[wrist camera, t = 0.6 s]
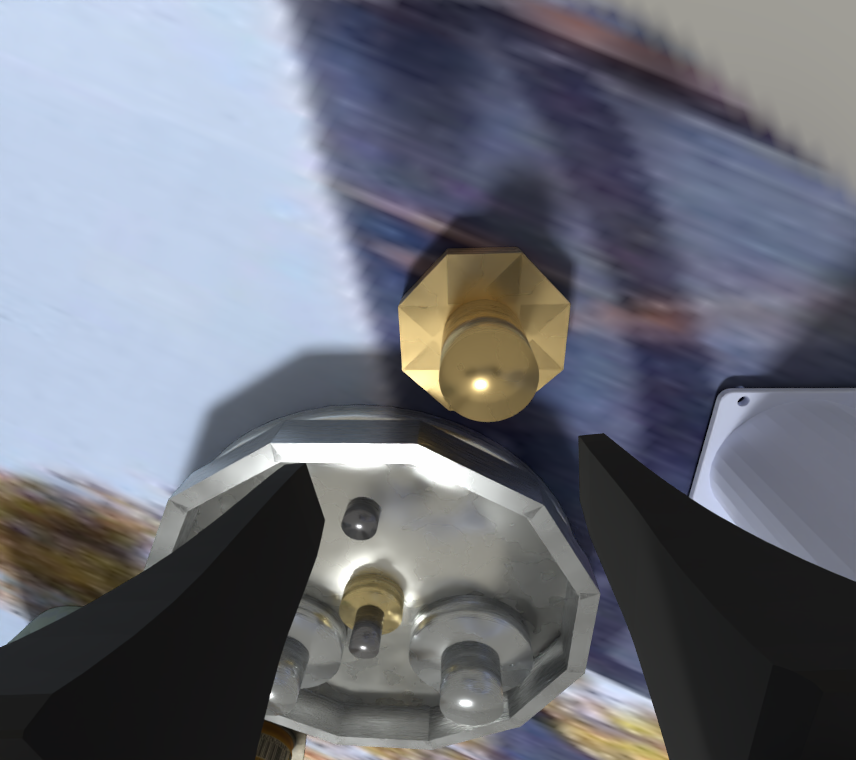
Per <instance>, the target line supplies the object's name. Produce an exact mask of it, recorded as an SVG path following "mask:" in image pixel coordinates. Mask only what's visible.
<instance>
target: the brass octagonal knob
mask: <svg viewBox="0 0 856 760" xmlns="http://www.w3.org/2000/svg"><path fill="white" fill-rule="evenodd" d="M398 310H399V326H400V342H401V358H402V371H404V372H405V373H406V374H407V375H408V376H409V377H411V378H412V379H413V380H414V381H415V382H416V383H417V384H419V385H420V386H421V387H422V388H423V389H424V390H426V391H427V392H428V393H429V394H430V395H431V396H433V397H434V398H435V399H436V400H437V401H438V402H439V403H441V404H442V405H443V406H444V407H445V408H446V409H448V410H449V411H456V412H457V413H458V414H460V415H462V416H464V417H466V418H468V419H471V420H475V421H480V422H495V421H500V420H504V419H507V418H509V417H512V416H514V415H515V414H517V413H519V412H520V411H521V410H523V409H524V408H525V407H526V406H527V405H528V404H529V402H530V401H531V400H532V398H533V397H534V395H535V393H536V392H537V391H538V390H539V389H540V388H541V387H543V386H544V385H545V384H546V383H547V382H549V381H550V380H551V379H552V378H554V377H555V376H556V375H557V374H558V373H560V372H561V371H562V370H563V367H564V358H565V349H566V340H567V331H568V322H569V312H570V303H569V302H568V300H567V299H566V298H565V297H564V296H563V294H562V293H561V292H560V291H559V290H558V289H557V288H556V287H555V286H554V285H553V284H552V283H551V282H550V281H549V280H548V279H547V278H546V277H545V275H544V274H543V273H542V272H541V271H540V270H539V269H538V268H537V267H536V266H535V265H534V264H533V263H532V262H531V261H530V260H529V259H528V258H527V256H526V255H525V254H524V253H523V252H522V251H521V250H520V249H519V248H518V247H490V248H448V249H447V250H446V251H445V252H444V253H443V254H442V255H441V256H440V257H439V258H438V259H437V260H436V262H435V263H434V264H433V265H432V266H431V267H430V268H429V269H428V270H427V271H426V272H425V273H424V274H423V275H422V276H421V278H420V279H419V280H418V281H417V282H416V283H415V284H414V285H413V286H412V287H411V288H410V289H409V290H408V291H407V292H406V294H405V295H404V296H403V297H402V299H401V301H400V303H399V306H398Z"/></svg>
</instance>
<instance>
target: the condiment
mask: <svg viewBox="0 0 856 760" xmlns="http://www.w3.org/2000/svg"><path fill="white" fill-rule="evenodd" d="M305 741H306V734H305V733H302V732H299V731H296V730H293V729H291V728H288V727H285V726H282V725H279V724H276V723H273V722H271V721H268V720H265V719H264V723H263V727H262V731H261V735H260V739H259V744H258V748H257V753H256V757H255V760H303V757H304V749H305Z"/></svg>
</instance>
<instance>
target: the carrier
mask: <svg viewBox="0 0 856 760" xmlns="http://www.w3.org/2000/svg"><path fill="white" fill-rule="evenodd" d="M295 463H306V465H307V468H308V471H309V474H310V477H311V479H312V482H313V485H314V488H315V491H316V494H317V497H318V500H319V503H320V506H321V509H322V512H323V515H324V518H325V524H324V529H323V533H322V538H321V542H320V547H319V551H318V555H317V558H316V561H315V564H314V566H313V569H312V572H311V575H310V577H309V580H308V583H307V585H306V588H305V591H304V593H303V596H302V599H301V601H300V604H299V607H298V609H297V612H296V615H295V617H294V620H293V623H292V625H291V628H290V631H289V633H288V636H287V639H286V642H285V645H284V648H283V651H282V654H281V657H280V661H279V665H278V668H277V672H276V676H275V680H274V683H273V687H272V691H271V694H270V698H269V702H268V706H267V711H266V715H265V720H268V721H271V722H273V723H276V724H279V725H282V726H285V727H288V728H291V729H293V730H296V731H299V732H302V733H305V734H308V735H311V736H313V737H316V738H319V739H322V740H325V741H328V742H331V743H334V744H337V745H354V746H372V747H391V748H410V749H429V750H432V749H437V748H441V747H445V746H448V745H452V744H456V743H460V742H464V741H467V740H471V739H475V738H479V737H483V736H486V735H490V734H494V733H498V732H501V731H505V730H509V729H513V728H517V727H520V726H522V725H523V724H524V723H525V722H527V721H528V720H529V719H530V718H531V717H533V716H534V715H535V714H536V713H537V712H539V711H540V710H541V709H542V708H543V707H545V706H546V705H547V704H548V703H549V702H551V701H552V700H553V699H554V698H555V697H557V696H558V695H559V694H560V693H561V692H563V691H564V690H565V689H566V688H567V687H569V686H570V685H571V684H572V683H573V682H575V681H576V680H577V679H578V678H579V677H581V676H582V675H583V674H584V673H585V669H586V664H587V659H588V654H589V649H590V644H591V639H592V633H593V628H594V623H595V618H596V613H597V608H598V603H599V598H600V591H599V588H598V585H597V582H596V579H595V576H594V573H593V570H592V568H591V565H590V562H589V560H588V558H587V557H586V555H585V553H584V552H583V550H582V549H581V547H580V545H579V544H578V542H577V541H576V539H575V537H574V536H573V534H572V531H571V528H570V525H569V521H568V519H567V518H566V516H565V514H564V512H563V510H562V508H561V506H560V504H559V502H558V500H557V499H556V498H555V496H554V495H553V494H552V492H551V491H550V490H549V488H548V487H547V486H546V484H545V483H544V482H543V481H542V480H541V479H540V478H539V477H538V476H537V475H536V474H535V473H534V472H533V471H532V470H531V469H530V467H529V466H528V465H527V464H525V463H524V462H523V461H522V460H520V459H519V458H518V457H516V456H515V455H514V454H512V453H511V452H510V451H508V450H507V449H506V448H504V447H503V446H501V445H500V444H498V443H496V442H494V441H493V440H491V439H489V438H487V437H486V436H484V435H482V434H480V433H479V432H476V431H474V430H472V429H469V428H467V427H465V426H462V425H460V424H458V423H455V422H453V421H451V420H447V419H444V418H440V417H437V416H434V415H430V414H427V413H423V412H419V411H414V410H408V409H402V408H396V407H391V406H375V405H343V406H328V407H322V408H317V409H311V410H306V411H300V412H297V413H294V414H291V415H288V416H284V417H281V418H278V419H275V420H272V421H270V422H268V423H266V424H264V425H262V426H260V427H258V428H256V429H253V430H251V431H249V432H248V433H246V434H245V435H244V436H242V437H241V438H239V439H238V440H236V441H235V442H233V443H232V444H230V445H229V446H228V447H227V448H226V449H225V450H224V451H223V452H222V453H221V454H219V455H218V456H217V457H216V458H215V459H214V460H213V461H212V462H210V463H209V464H207V465H205V466H203V467H201V468H200V469H198V470H196V471H194V472H193V473H191V474H190V475H189V477H188V478H187V479H186V480H185V481H184V482H183V483H182V485H181V486H180V487H179V488H178V489H177V490H176V491H175V493H174V494H173V495H172V496H171V497H170V498H169V499H168V502H167V505H166V508H165V511H164V514H163V517H162V520H161V523H160V525H159V528H158V531H157V534H156V537H155V540H154V543H153V546H152V549H151V552H150V554H149V557H148V560H147V563H146V566H145V569H144V571H145V570H147V569H148V568H150V567H151V566H153V565H154V564H156V563H157V562H159V561H160V560H162V559H163V558H165V557H166V556H168V555H169V554H171V553H172V552H173V551H175V550H176V549H178V548H179V547H181V546H182V545H183V544H185V543H186V542H187V541H189V540H190V539H191V538H193V537H194V536H195V535H197V534H198V533H199V532H201V531H202V530H203V529H204V528H206V527H207V526H208V525H210V524H211V523H212V522H214V521H215V520H216V519H217V518H219V517H220V516H221V515H223V514H224V513H225V512H226V511H228V510H229V509H230V508H231V507H232V506H234V505H235V504H236V503H237V502H238V501H240V500H241V499H242V498H243V497H244V496H246V495H247V494H248V493H249V492H251V491H252V490H253V489H254V488H255V487H257V486H258V485H259V484H260V483H261V482H263V481H264V480H265V479H266V478H267V477H269V476H270V475H271V474H272V473H274V472H275V471H276V470H278V469H279V468H281V467H282V466H283V465H285V464H295Z"/></svg>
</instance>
